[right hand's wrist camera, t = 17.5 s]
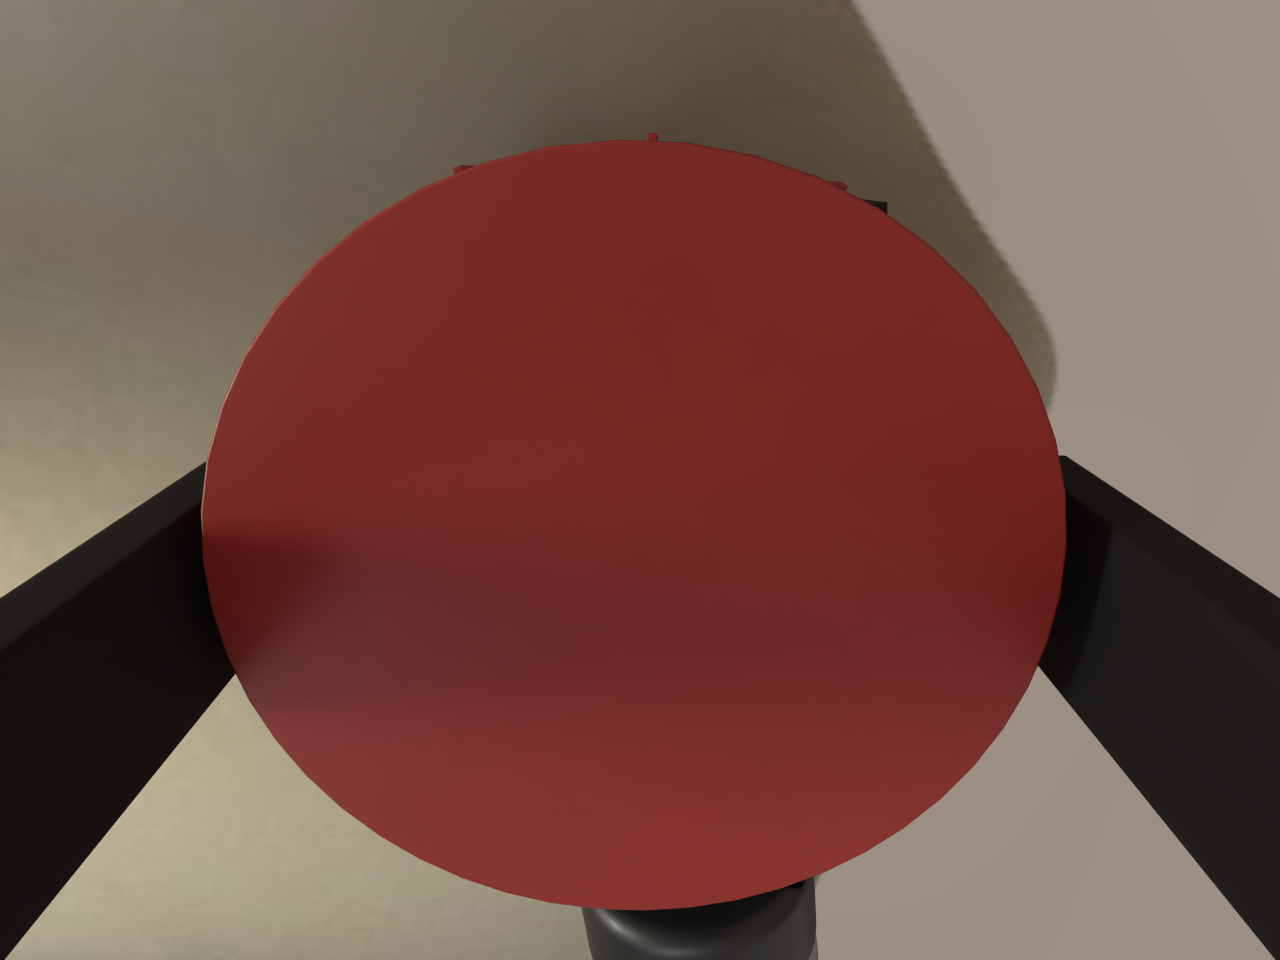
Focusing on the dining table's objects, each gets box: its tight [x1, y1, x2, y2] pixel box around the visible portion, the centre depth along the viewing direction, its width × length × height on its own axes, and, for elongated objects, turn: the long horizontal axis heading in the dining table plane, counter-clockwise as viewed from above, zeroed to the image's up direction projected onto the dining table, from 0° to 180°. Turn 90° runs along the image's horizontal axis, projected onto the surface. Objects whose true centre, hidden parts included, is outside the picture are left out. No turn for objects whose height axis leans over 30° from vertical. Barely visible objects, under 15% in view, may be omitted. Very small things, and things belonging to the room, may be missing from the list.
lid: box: [201, 133, 1067, 910], centre depth 11 cm, size 11×11×2 cm
